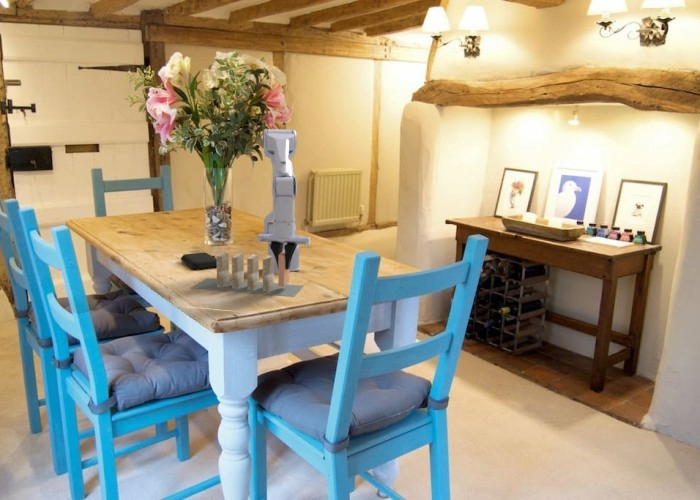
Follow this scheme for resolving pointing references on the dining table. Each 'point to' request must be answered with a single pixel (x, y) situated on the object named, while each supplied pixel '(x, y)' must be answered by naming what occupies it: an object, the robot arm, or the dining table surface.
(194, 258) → the carrying case or bag
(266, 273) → the wooden block
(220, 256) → the beige wooden block
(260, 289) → the slate runway mat
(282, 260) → the terracotta domino
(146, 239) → the dining table surface
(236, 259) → the ivory domino
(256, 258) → the wooden block
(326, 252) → the dining table surface
